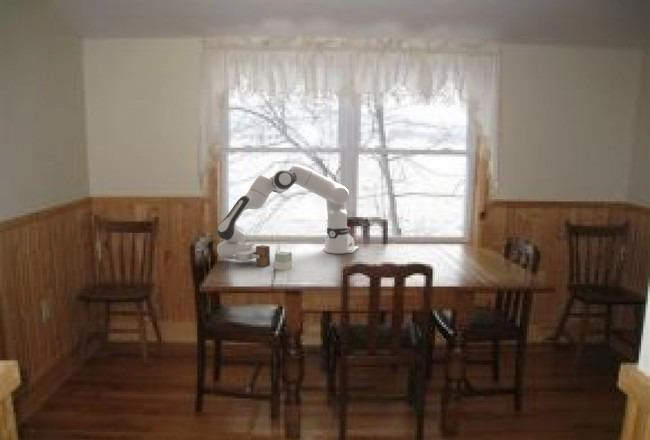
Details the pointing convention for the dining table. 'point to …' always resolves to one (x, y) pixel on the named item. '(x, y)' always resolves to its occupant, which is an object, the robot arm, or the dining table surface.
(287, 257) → the tower mid
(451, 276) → the dining table surface
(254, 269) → the dining table surface
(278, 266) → the tower base
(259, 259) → the walnut pillar
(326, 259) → the dining table surface
